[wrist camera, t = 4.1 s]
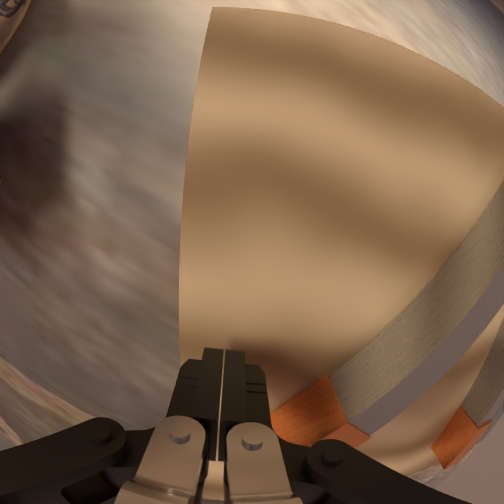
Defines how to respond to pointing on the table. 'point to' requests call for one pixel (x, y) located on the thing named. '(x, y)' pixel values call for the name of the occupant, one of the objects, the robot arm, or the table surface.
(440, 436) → the tong fixed arm
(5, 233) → the table surface
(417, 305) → the tong free arm
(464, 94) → the cutting board
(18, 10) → the chinaware
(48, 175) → the table surface
